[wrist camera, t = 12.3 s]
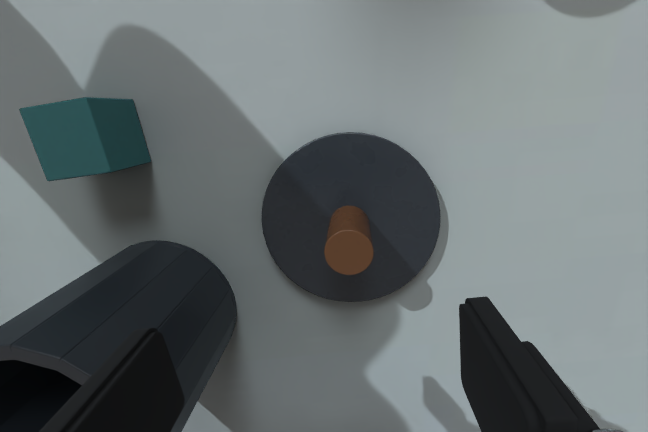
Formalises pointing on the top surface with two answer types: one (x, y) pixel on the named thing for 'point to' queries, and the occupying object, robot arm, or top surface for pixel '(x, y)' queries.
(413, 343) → the top surface
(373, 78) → the top surface
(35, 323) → the container
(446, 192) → the top surface
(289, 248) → the lid
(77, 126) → the block
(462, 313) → the robot arm
